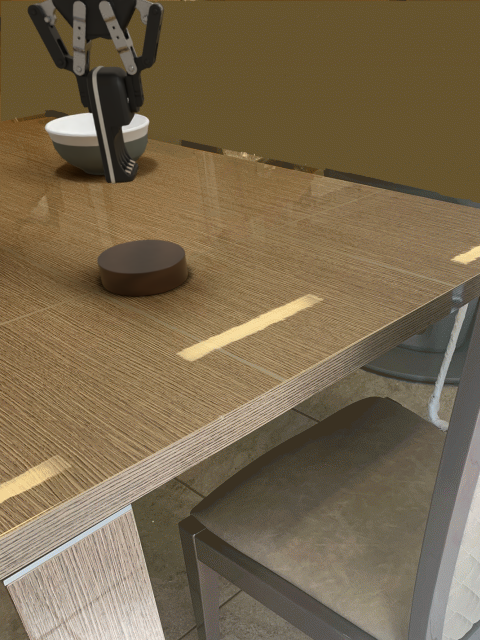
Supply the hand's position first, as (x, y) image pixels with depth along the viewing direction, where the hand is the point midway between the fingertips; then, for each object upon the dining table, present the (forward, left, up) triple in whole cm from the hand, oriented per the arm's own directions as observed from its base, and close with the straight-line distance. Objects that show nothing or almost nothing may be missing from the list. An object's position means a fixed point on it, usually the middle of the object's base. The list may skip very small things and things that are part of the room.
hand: (115, 110), depth 72 cm
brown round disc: (0, 0, -20) cm, 20 cm away
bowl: (-15, +51, -20) cm, 57 cm away
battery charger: (0, 0, -7) cm, 7 cm away
